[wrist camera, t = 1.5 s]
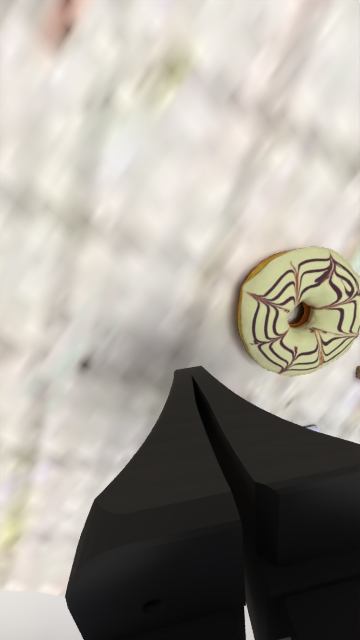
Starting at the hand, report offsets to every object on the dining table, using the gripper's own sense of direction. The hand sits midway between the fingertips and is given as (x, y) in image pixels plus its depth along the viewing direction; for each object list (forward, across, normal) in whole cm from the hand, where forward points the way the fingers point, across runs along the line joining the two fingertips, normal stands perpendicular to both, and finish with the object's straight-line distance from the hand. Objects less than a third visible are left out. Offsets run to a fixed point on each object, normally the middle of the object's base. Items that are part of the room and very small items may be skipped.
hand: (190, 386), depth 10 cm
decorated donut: (+10, -10, 0) cm, 14 cm away
